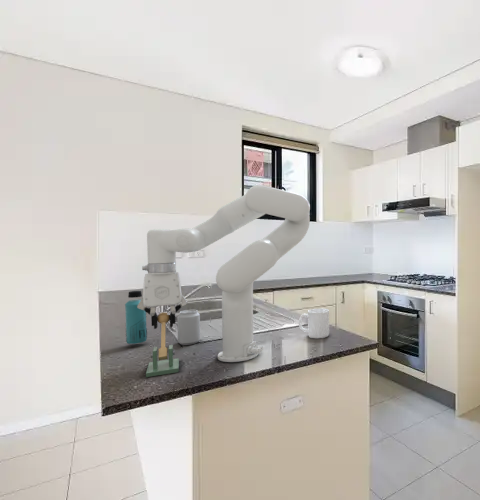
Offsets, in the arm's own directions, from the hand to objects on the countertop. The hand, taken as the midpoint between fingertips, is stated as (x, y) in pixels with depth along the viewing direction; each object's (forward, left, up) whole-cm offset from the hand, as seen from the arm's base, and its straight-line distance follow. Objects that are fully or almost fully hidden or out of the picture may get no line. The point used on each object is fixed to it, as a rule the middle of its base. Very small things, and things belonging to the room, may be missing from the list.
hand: (163, 326), depth 111 cm
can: (+9, -19, -12) cm, 24 cm away
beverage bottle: (+25, -11, -12) cm, 30 cm away
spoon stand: (-5, +5, -11) cm, 13 cm away
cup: (-32, -40, -12) cm, 52 cm away
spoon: (-1, +1, -3) cm, 3 cm away
